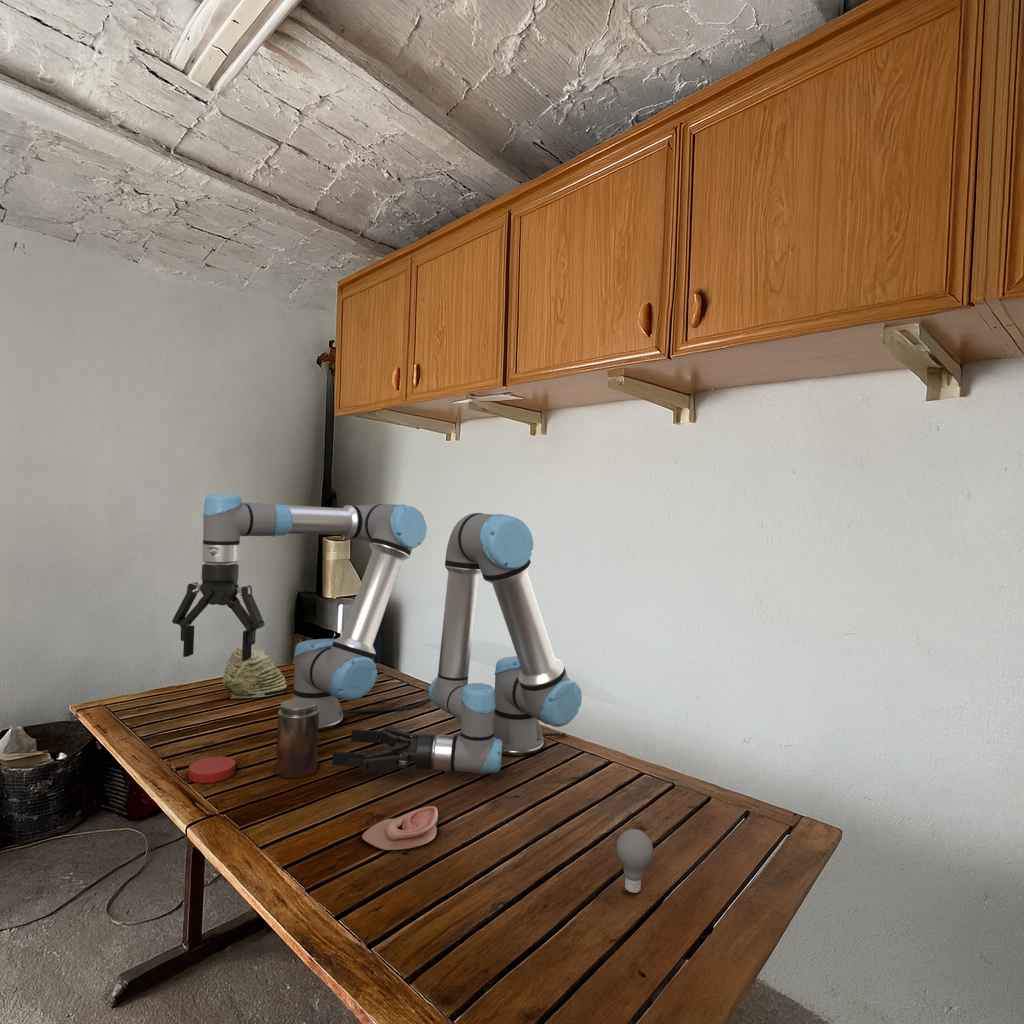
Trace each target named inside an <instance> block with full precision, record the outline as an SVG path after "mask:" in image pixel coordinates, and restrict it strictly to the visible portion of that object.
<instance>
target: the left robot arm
mask: <svg viewBox="0 0 1024 1024" xmlns="http://www.w3.org/2000/svg"><path fill="white" fill-rule="evenodd" d="M202 516H203V519H202V520H203V525H202V526H203V527H202V528H203V530H202V531H203V533H202V534H203V535H202V555H201V556H202V558H201V559H202V562H203V564H202V565H201V581H202V582H201V584H200V583H199V582H197V581H196V582H191V583H188V584H187V587H186V593H185V595H184V597H183V599H182V601H181V603H180V605H179V606H178V608H177V610H176V612H175V614H174V616H173V618H172V620H171V623H172V624H174V625H178V626H179V627H180V641H181V642H183V649H182V650H183V652H182V658H187V657H190V656H192V655H194V651H195V647H194V646H195V625H192V624H193V622H194V621H195V620H196V619H197V618H198V617H199V616H200V614H201V613H203V611H204V610H205V609H206V608H207V607H208V606H209V605H210V606H215V605H218V606H226V607H228V608H229V609H231V611H232V612H233V614H234V615H235V616H236V618H237V619H238V621H240V623H241V624H242V626H243V627H244V628H245V630H243V631H242V646H241V647H242V661H246V660H248V659H250V658H251V649H252V648H253V647H252V646H253V645H255V644H256V636H257V635H256V634H257V633H256V632H257V630H258V629H261V628H263V627H265V625H266V624H265V621H264V619H263V617H262V616H263V615H262V614H261V612H260V610H259V607H258V605H257V603H256V600H255V598H254V596H253V587H252V585H244V586H239V584H238V581H239V575H240V573H239V571H240V565H239V564H238V562H240V543H241V537H274V538H275V537H282V536H286V535H288V534H290V535H291V534H292V535H294V534H295V535H324V536H325V535H331V536H342V538H344V539H351V540H359V541H364V542H368V543H369V547H370V549H371V555H370V557H369V560H368V563H367V566H366V569H365V571H364V574H363V577H362V579H361V582H360V585H359V588H358V590H357V593H356V596H355V599H354V601H353V604H352V607H351V610H350V612H349V615H348V617H347V621H346V622H345V626H344V628H343V631H342V634H341V636H339V637H337V638H318V639H308V640H304V641H300V642H299V643H297V644H296V646H295V650H294V655H293V657H294V672H293V673H294V674H293V695H292V696H293V697H292V699H294V698H310V699H314V700H316V701H317V703H318V708H319V731H318V732H325V731H329V730H332V729H335V728H337V727H339V726H340V725H342V723H343V722H344V714H362V713H363V714H365V713H381V712H382V713H383V712H392V711H400V710H407V709H408V710H409V709H413V708H417V707H419V706H422V705H423V704H426V703H428V702H431V700H430V698H429V697H428V698H426V699H424V700H422V701H420V702H418V703H414V704H411V705H405V706H397V707H388V708H377V709H376V708H375V709H374V708H373V709H346V710H343V709H342V706H341V702H340V700H344V701H349V702H353V701H357V700H360V699H362V697H364V696H366V695H367V694H368V693H369V692H370V691H371V690H372V688H374V685H375V684H376V681H377V677H378V670H377V665H376V664H375V662H374V660H375V658H376V654H377V651H376V650H375V647H374V643H375V640H376V637H377V634H378V631H379V629H380V626H381V623H382V620H383V618H384V614H385V611H386V609H387V605H388V603H389V600H390V597H391V594H392V591H393V589H394V587H395V583H396V580H397V577H398V574H399V572H400V570H401V569H400V568H401V565H402V563H403V562H404V561H406V560H408V559H410V557H411V555H412V551H413V549H416V548H418V547H419V546H421V545H422V544H423V543H424V541H425V539H426V535H427V527H428V526H427V522H426V520H425V516H424V515H423V513H422V512H421V511H420V510H419V509H418V508H417V507H415V506H412V505H406V504H404V503H403V504H402V503H401V504H393V503H391V504H389V503H372V504H371V503H370V504H359V505H358V504H357V505H356V504H355V505H352V504H347V505H344V506H343V507H325V506H313V505H312V506H308V505H292V504H277V503H256V502H242V497H241V496H240V494H239V495H238V494H220V493H219V494H218V493H211V494H208V495H206V497H205V498H204V503H203V513H202ZM200 592H201V594H202V597H201V598H200V599H199V600H198V601H197V603H196V604H195V606H193V608H192V609H191V607H192V605H193V603H194V601H195V599H196V598H197V596H198V594H199V593H200ZM238 594H239V595H240V596H241V599H242V602H243V604H244V606H245V608H246V609H245V608H244V606H243V605H242V604H241V601H240V599H239V597H238V596H237V595H238ZM190 609H191V610H190Z"/></svg>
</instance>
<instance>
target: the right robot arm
mask: <svg viewBox="0 0 1024 1024" xmlns="http://www.w3.org/2000/svg"><path fill="white" fill-rule="evenodd" d="M533 550H534V538H533V533H532V532H531V530H530V528H529V526H528V525H527V524H526V523H525V522H524V521H523V520H521V519H519V518H518V517H516V516H512V515H508V514H504V513H502V514H501V513H498V514H493V513H483V512H473V513H469V514H467V515H465V516H463V517H461V518H460V520H459V521H457V522H456V524H455V525H454V526H453V529H452V531H451V532H450V535H449V539H448V542H447V546H446V551H445V560H444V567H445V569H446V571H447V582H446V592H445V601H444V610H443V621H442V631H441V640H440V648H439V661H438V670H437V676H436V677H434V679H433V680H432V681H431V683H430V685H429V687H428V698H430V702H432V703H433V704H434V705H435V706H436V707H437V708H438V709H440V710H441V711H444V712H446V713H448V714H450V715H451V716H452V717H454V718H455V719H457V720H459V721H460V735H459V736H458V735H451V734H450V735H449V734H438V735H434V734H429V733H420V734H417V733H409V732H406V731H403V730H399V729H395V728H391V727H388V726H387V727H384V729H381V730H370V729H354V728H352V729H351V735H350V736H351V737H350V738H351V739H350V741H351V742H353V743H365V744H366V743H367V744H368V743H369V744H380V745H383V744H384V745H386V746H389V749H387V750H383V751H377V752H374V753H369V754H366V753H365V752H363V751H362V752H348V751H333V752H332V766H341V767H355V768H360V769H361V773H363V774H364V773H365V774H366V773H372V772H379V771H380V772H381V771H387V770H395V769H396V770H397V769H408V768H409V767H408V764H409V762H413V763H414V767H415V768H416V769H417V770H429V771H430V770H432V769H434V771H444V773H448V772H462V773H463V772H464V773H473V774H474V773H475V774H479V775H481V774H497V773H499V772H500V770H501V767H502V759H503V757H502V755H505V756H513V757H514V756H515V757H519V756H521V757H522V756H529V755H534V754H537V753H539V752H540V751H542V750H543V749H544V741H545V740H544V737H565V736H566V733H565V732H543V731H542V727H541V723H543V724H544V725H548V726H551V727H555V728H560V727H564V726H566V725H568V724H569V723H570V722H572V721H573V719H575V717H576V716H577V714H578V713H579V709H580V708H581V706H582V701H583V692H582V688H581V687H580V685H579V684H578V683H577V682H576V681H575V680H573V679H570V678H569V676H568V673H567V671H566V667H565V663H564V662H563V661H562V659H559V658H557V657H555V654H554V650H553V647H552V644H551V640H550V637H549V636H548V635H549V634H548V632H547V629H546V626H545V623H544V620H543V617H542V614H541V610H540V607H539V605H538V601H537V597H536V595H535V592H534V589H533V585H532V583H531V580H530V579H531V578H530V576H529V573H528V572H529V569H530V567H531V565H532V562H531V558H532V555H533V553H532V551H533ZM480 574H481V575H482V578H483V580H484V581H485V582H488V583H490V584H492V587H493V591H494V593H495V596H496V599H497V602H498V605H499V608H500V610H501V614H502V617H503V619H504V622H505V626H506V628H507V631H508V634H509V637H510V640H511V643H512V646H513V649H514V652H515V654H516V656H515V655H514V656H506V657H502V658H499V659H498V660H497V661H496V664H495V669H494V670H495V672H494V687H493V686H492V685H491V684H488V683H484V682H472V683H469V674H470V673H469V672H470V663H471V654H472V645H473V637H474V636H473V635H474V627H475V626H474V625H475V616H476V607H477V598H478V597H477V596H478V587H479V578H480ZM540 722H541V723H540ZM560 733H562V734H560Z"/></svg>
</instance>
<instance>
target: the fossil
mask: <svg viewBox="0 0 1024 1024" xmlns="http://www.w3.org/2000/svg"><path fill="white" fill-rule="evenodd" d="M222 676H223V677H222V685H223V687H224V688H225V690H226V691H228V693H229V698H230V699H250V698H264V697H271V696H275V695H281V694H284V693H285V691H286V689H287V687H288V686H287V680H286V678H285V676H284V674H283V673H282V672H281V669H279V668H278V667H277V665H276V663H275V662H274V660H273V659H272V658H271V657H270V656H269V655H268V654H267V653H266V652H265V650H264V649H263V648H260V647H258V648H251V658H250V659H248V660H246V661H242V646H238V647H237V648H236V649H235V650H233V651H232V653H231V656H230V657H229V659H228V660H227V663H226V666H225V668H224V671H223V675H222Z"/></svg>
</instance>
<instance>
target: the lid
mask: <svg viewBox="0 0 1024 1024" xmlns="http://www.w3.org/2000/svg"><path fill="white" fill-rule="evenodd" d="M236 769H237V768H236V760H235V759H234V758H233V757H229V756H209V757H204V758H201V759H198V760H196V761H194V762H192V763H191V764H190V765H189V766H188V773H187V774H188V776H187V778H188V779H189V780H190V781H191V782H193V783H199V784H200V783H201V784H208V783H217V782H220V781H223V780H226V779H228V778H231V777H232V776H233V775H234V774H235V773H236Z"/></svg>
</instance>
